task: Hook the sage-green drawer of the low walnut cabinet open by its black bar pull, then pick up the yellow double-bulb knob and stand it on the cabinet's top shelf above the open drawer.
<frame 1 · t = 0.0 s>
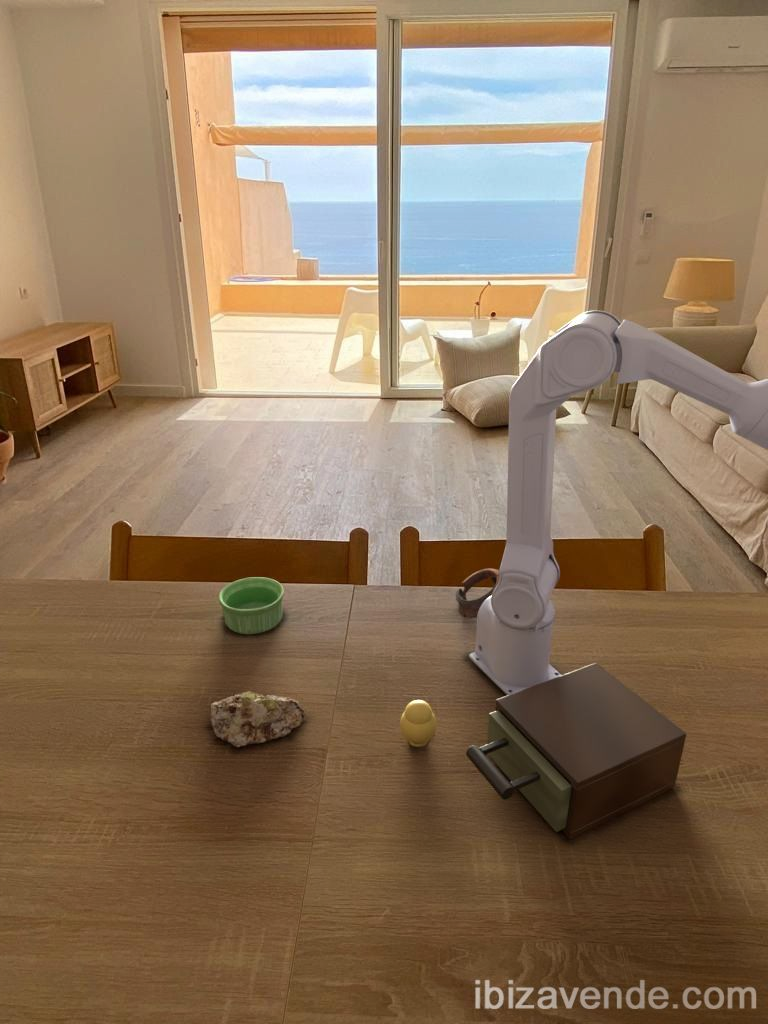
cabinet: (580, 769, 73), on the table
mineral rock: (258, 725, 79), on the table
pottery mug: (495, 616, 99), on the table
ramekin: (254, 620, 99), on the table
drawer: (553, 756, 69), point 4 cm above the table, slide at 0.0 cm
yellow double-bulb knob: (418, 739, 77), on the table
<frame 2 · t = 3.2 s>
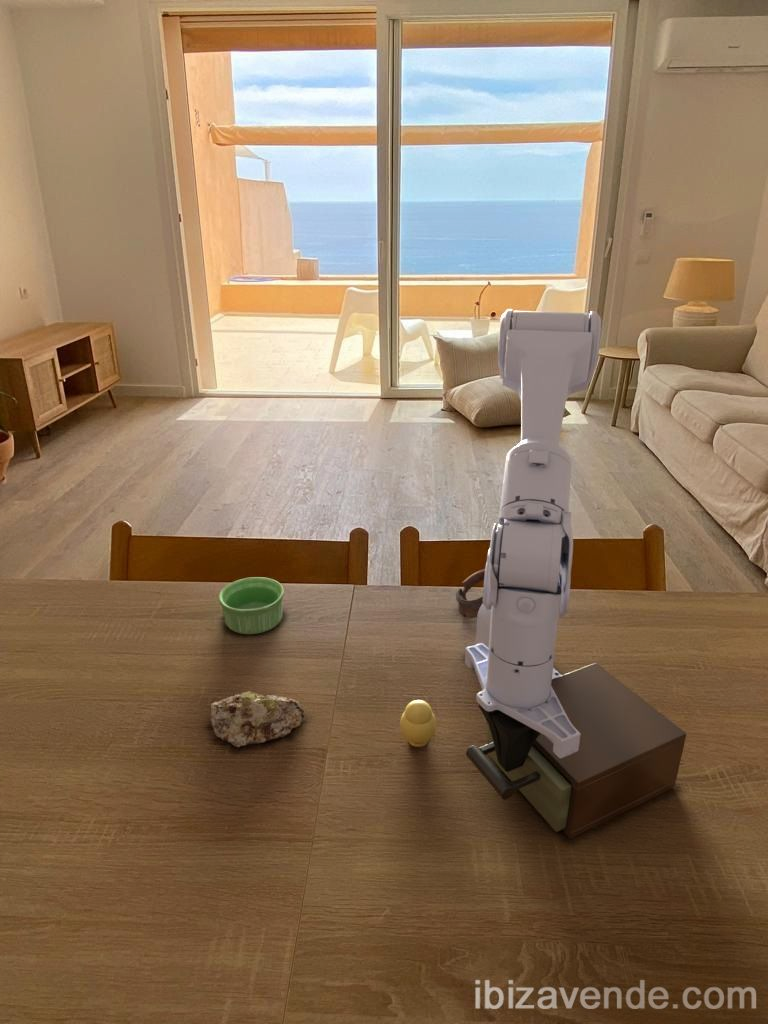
hand: (511, 764, 67), 5 cm above the table, tool pointing down, fingers closed, pressing on drawer
drawer: (553, 756, 69), point 4 cm above the table, slide at 0.0 cm, touching cabinet, gripper
everything else where it was.
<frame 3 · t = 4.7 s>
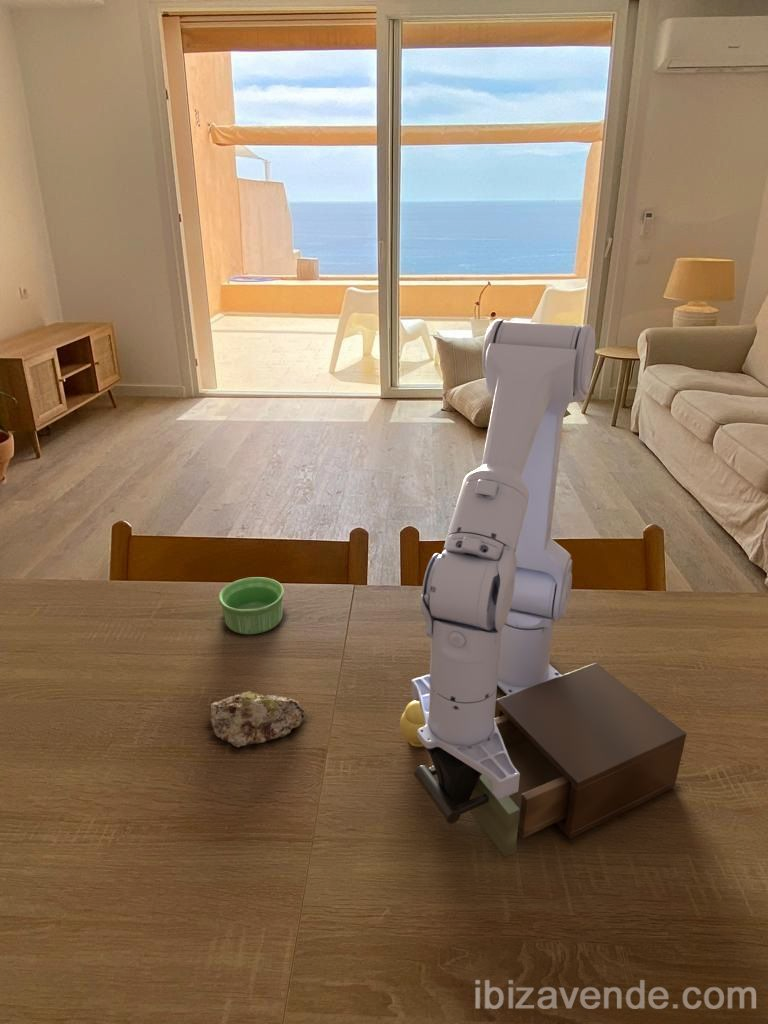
hand: (456, 800, 65), 3 cm above the table, tool pointing down, fingers closed, pressing on drawer
drawer: (505, 776, 67), point 4 cm above the table, slide at 5.8 cm, touching gripper
everything else where it was.
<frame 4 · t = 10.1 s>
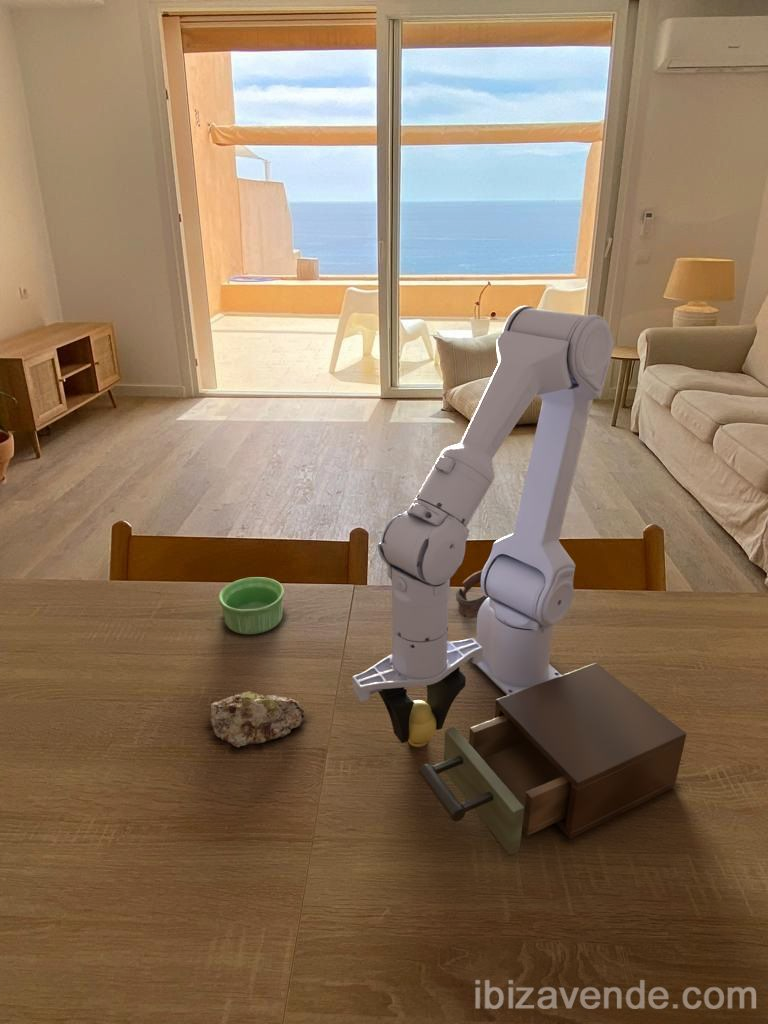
hand: (418, 729, 76), 1 cm above the table, tool pointing down, fingers closed on yellow double-bulb knob, 4 cm apart
drawer: (509, 774, 67), point 4 cm above the table, slide at 5.3 cm
yellow double-bulb knob: (417, 739, 77), on the table, touching gripper
everything else where it was.
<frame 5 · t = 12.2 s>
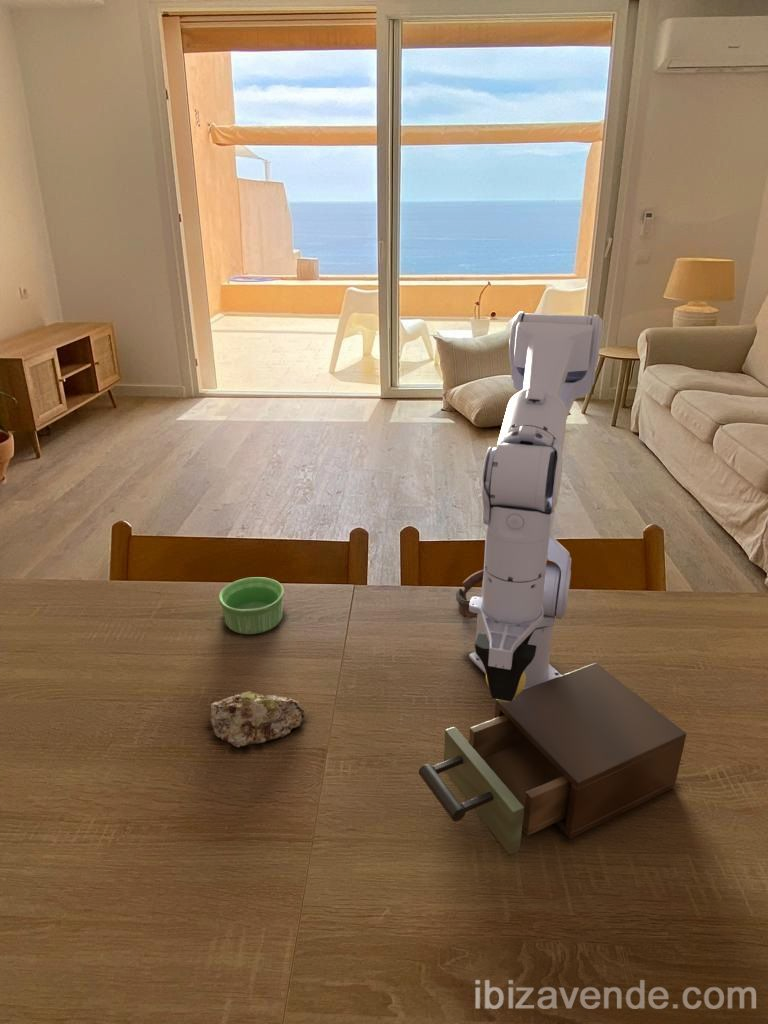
hand: (505, 683, 71), 9 cm above the table, tool pointing down, fingers closed on yellow double-bulb knob, 4 cm apart
yellow double-bulb knob: (504, 695, 71), point 8 cm above the table, touching gripper
everything else where it was.
when the fingers open (8 cm above the table, at t = 14.1 s): yellow double-bulb knob stays where it is, resting on cabinet.
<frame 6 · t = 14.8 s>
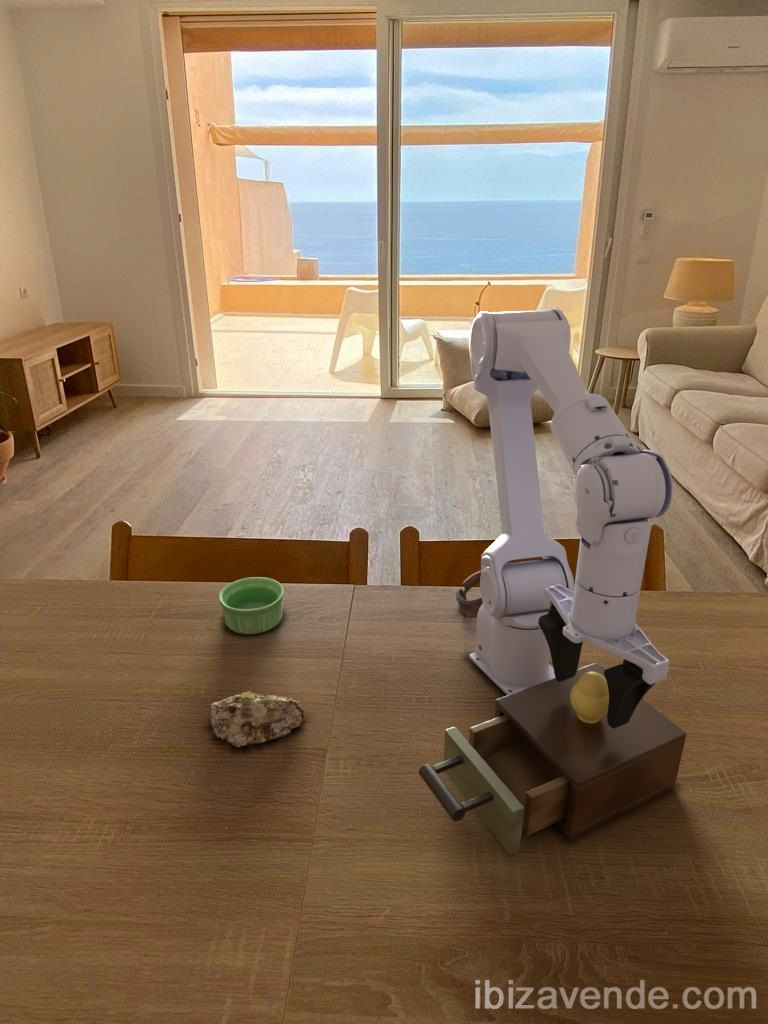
hand: (590, 699, 69), 9 cm above the table, tool pointing down, fingers open, 7 cm apart
yellow double-bulb knob: (588, 716, 70), point 7 cm above the table, touching cabinet
everything else where it was.
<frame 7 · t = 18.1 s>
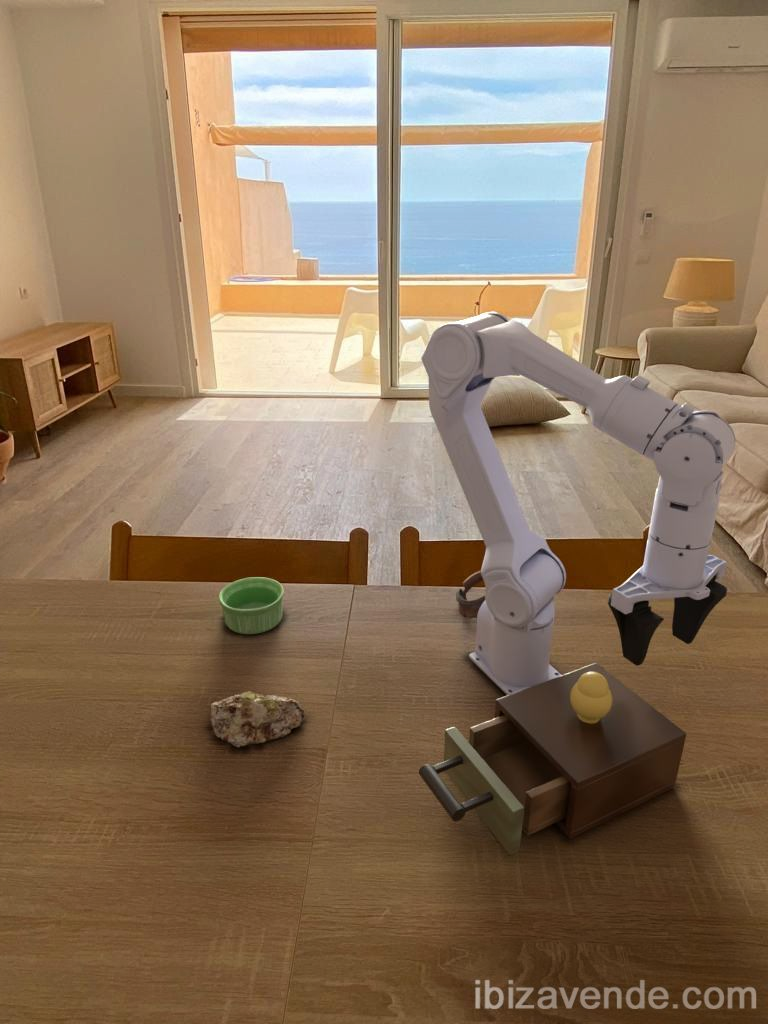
hand: (657, 649, 75), 10 cm above the table, tool pointing down, fingers open, 7 cm apart
nothing on the table moved.
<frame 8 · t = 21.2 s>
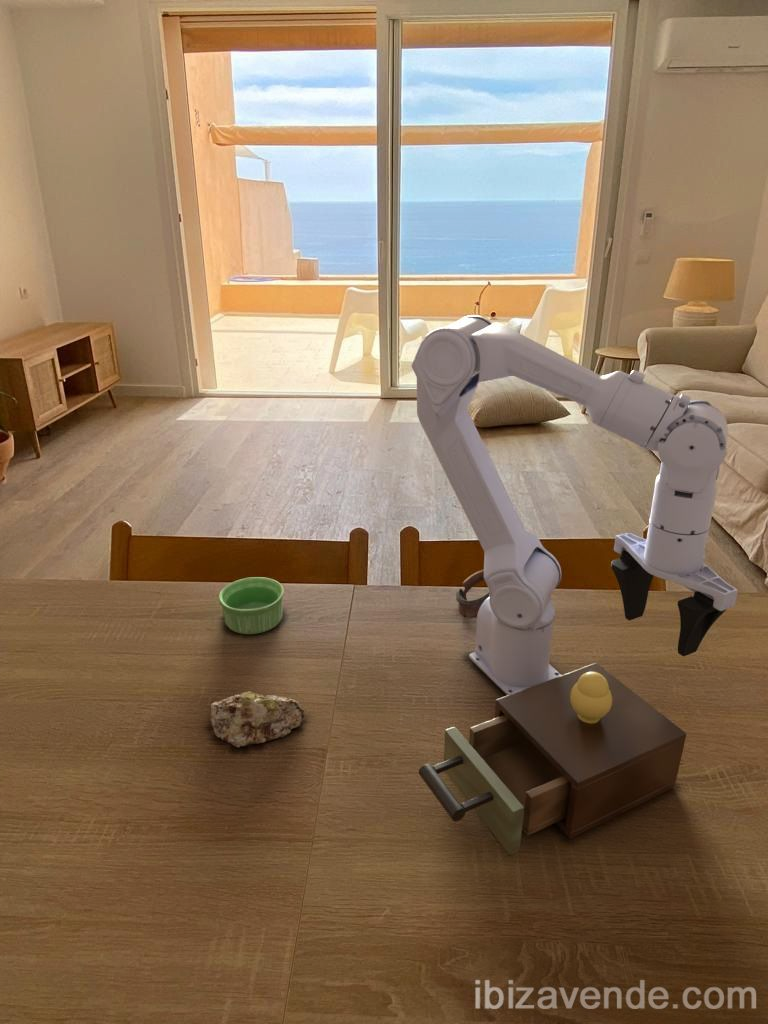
hand: (659, 633, 77), 10 cm above the table, tool pointing down, fingers open, 7 cm apart
nothing on the table moved.
at the end: drawer slide at 5.3 cm; yellow double-bulb knob inside the target area on the cabinet (0.1 cm from its centre), point 7.1 cm above the cabinet's base; yellow double-bulb knob tilted 0° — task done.
